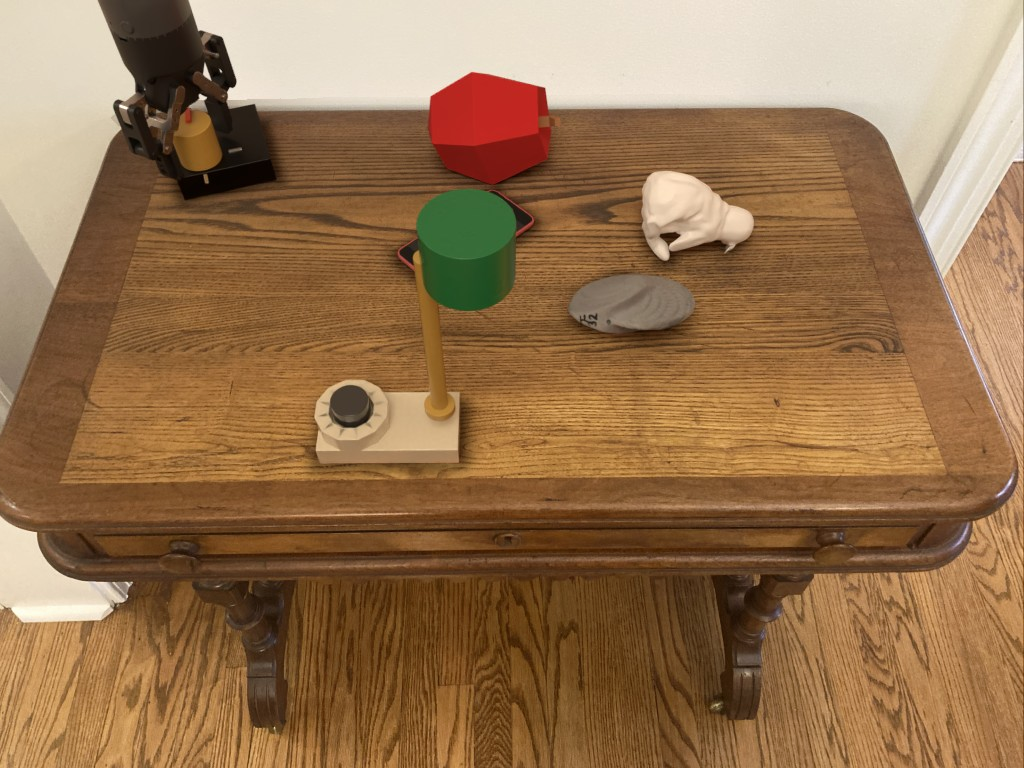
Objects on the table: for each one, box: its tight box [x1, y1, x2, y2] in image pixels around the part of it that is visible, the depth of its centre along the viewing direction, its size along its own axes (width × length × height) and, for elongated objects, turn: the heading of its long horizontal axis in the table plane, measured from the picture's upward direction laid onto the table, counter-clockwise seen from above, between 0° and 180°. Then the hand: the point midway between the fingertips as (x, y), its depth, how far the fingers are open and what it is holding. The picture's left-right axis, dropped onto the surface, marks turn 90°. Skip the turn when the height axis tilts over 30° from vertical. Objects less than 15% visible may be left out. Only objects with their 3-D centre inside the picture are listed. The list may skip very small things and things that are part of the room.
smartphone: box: [397, 189, 535, 273], centre depth 89 cm, size 7×1×14 cm
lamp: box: [413, 188, 517, 421], centre depth 64 cm, size 8×6×22 cm
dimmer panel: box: [172, 103, 277, 201], centre depth 94 cm, size 11×12×3 cm
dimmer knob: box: [173, 107, 222, 171], centre depth 90 cm, size 4×4×5 cm
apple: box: [427, 71, 562, 186], centre depth 92 cm, size 12×12×15 cm
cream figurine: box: [640, 170, 755, 262], centre depth 86 cm, size 6×8×12 cm
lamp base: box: [313, 379, 462, 464], centre depth 74 cm, size 12×6×4 cm, turn 91°
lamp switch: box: [330, 385, 371, 427], centre depth 72 cm, size 3×3×2 cm
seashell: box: [567, 273, 696, 335], centre depth 81 cm, size 12×6×10 cm
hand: (199, 153), depth 91 cm, fingers open, 8 cm apart
